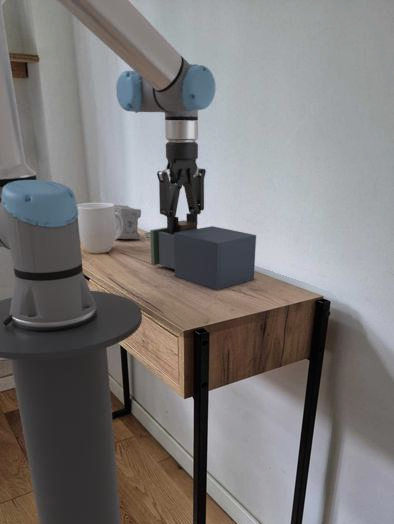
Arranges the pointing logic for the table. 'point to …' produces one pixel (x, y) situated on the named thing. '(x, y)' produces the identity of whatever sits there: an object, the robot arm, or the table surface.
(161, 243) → the drawer
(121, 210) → the incense holder
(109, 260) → the table surface
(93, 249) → the mug
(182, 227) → the block
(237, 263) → the cabinet
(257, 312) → the table surface
